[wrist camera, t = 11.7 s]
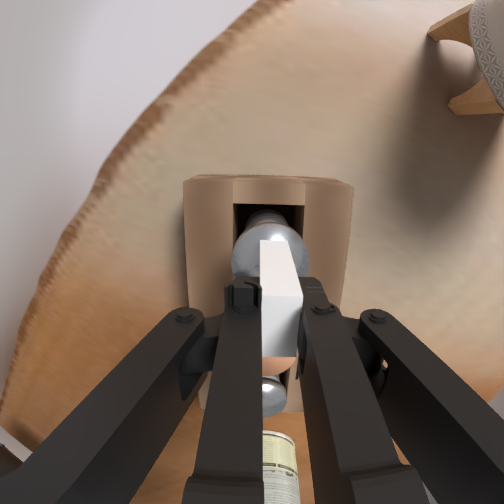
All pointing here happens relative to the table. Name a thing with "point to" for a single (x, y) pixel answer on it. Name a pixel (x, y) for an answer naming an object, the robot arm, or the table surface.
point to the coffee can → (279, 469)
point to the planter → (478, 53)
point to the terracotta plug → (275, 365)
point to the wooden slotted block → (226, 234)
